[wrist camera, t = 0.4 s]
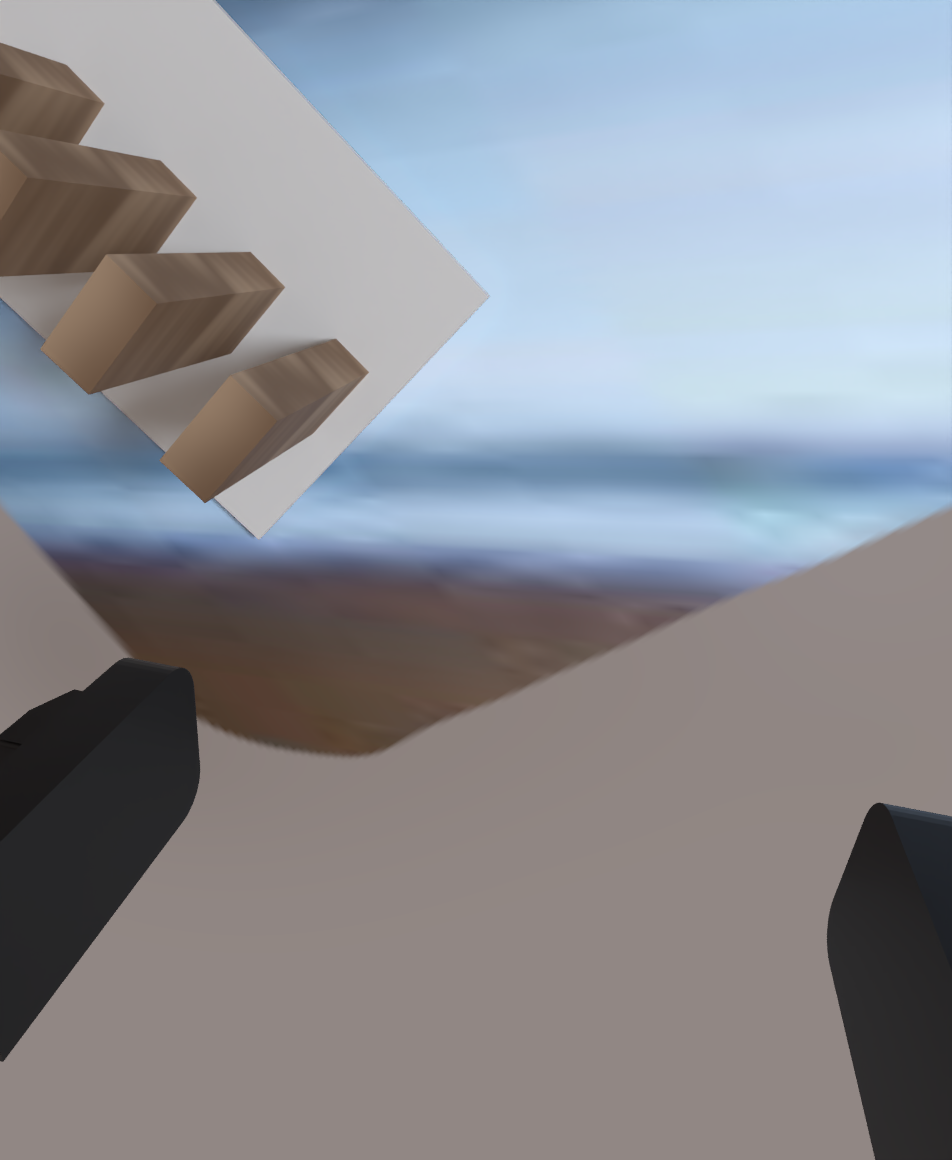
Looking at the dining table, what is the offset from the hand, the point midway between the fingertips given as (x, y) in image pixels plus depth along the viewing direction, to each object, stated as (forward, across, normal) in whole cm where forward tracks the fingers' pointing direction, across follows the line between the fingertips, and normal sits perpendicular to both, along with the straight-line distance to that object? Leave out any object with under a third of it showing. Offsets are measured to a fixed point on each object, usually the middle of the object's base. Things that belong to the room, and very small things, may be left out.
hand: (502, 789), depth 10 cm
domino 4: (+27, +16, -1) cm, 32 cm away
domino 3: (+27, +20, -4) cm, 34 cm away
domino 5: (+27, +12, +2) cm, 30 cm away
